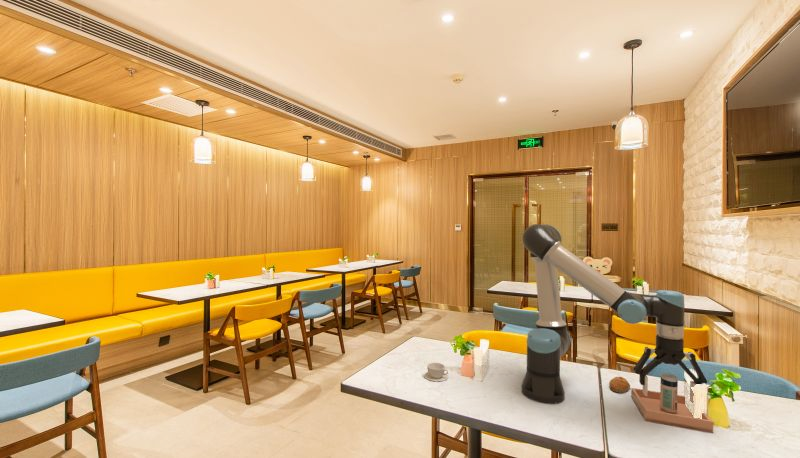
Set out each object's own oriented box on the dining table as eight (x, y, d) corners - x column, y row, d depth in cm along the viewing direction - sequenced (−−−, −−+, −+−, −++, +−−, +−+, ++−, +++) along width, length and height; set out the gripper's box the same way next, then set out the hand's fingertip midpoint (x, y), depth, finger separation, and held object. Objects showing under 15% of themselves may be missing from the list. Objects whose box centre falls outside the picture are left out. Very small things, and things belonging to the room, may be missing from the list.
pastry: (625, 396, 131) (626, 386, 131) (605, 390, 136) (605, 380, 136) (630, 388, 138) (630, 378, 138) (611, 383, 143) (611, 373, 143)
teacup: (420, 379, 142) (421, 368, 142) (428, 370, 151) (428, 359, 151) (444, 384, 138) (444, 372, 138) (450, 374, 148) (450, 363, 148)
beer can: (673, 408, 120) (674, 373, 120) (679, 415, 116) (680, 379, 116) (657, 405, 122) (658, 371, 122) (662, 412, 117) (663, 377, 117)
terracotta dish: (645, 421, 114) (645, 410, 114) (631, 397, 130) (631, 387, 130) (712, 433, 107) (713, 421, 107) (688, 406, 124) (688, 396, 124)
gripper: (630, 334, 120) (628, 396, 120) (721, 344, 111) (719, 410, 111) (624, 329, 127) (623, 386, 127) (709, 337, 118) (708, 400, 118)
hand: (668, 398), depth 119 cm, fingers open, 13 cm apart
